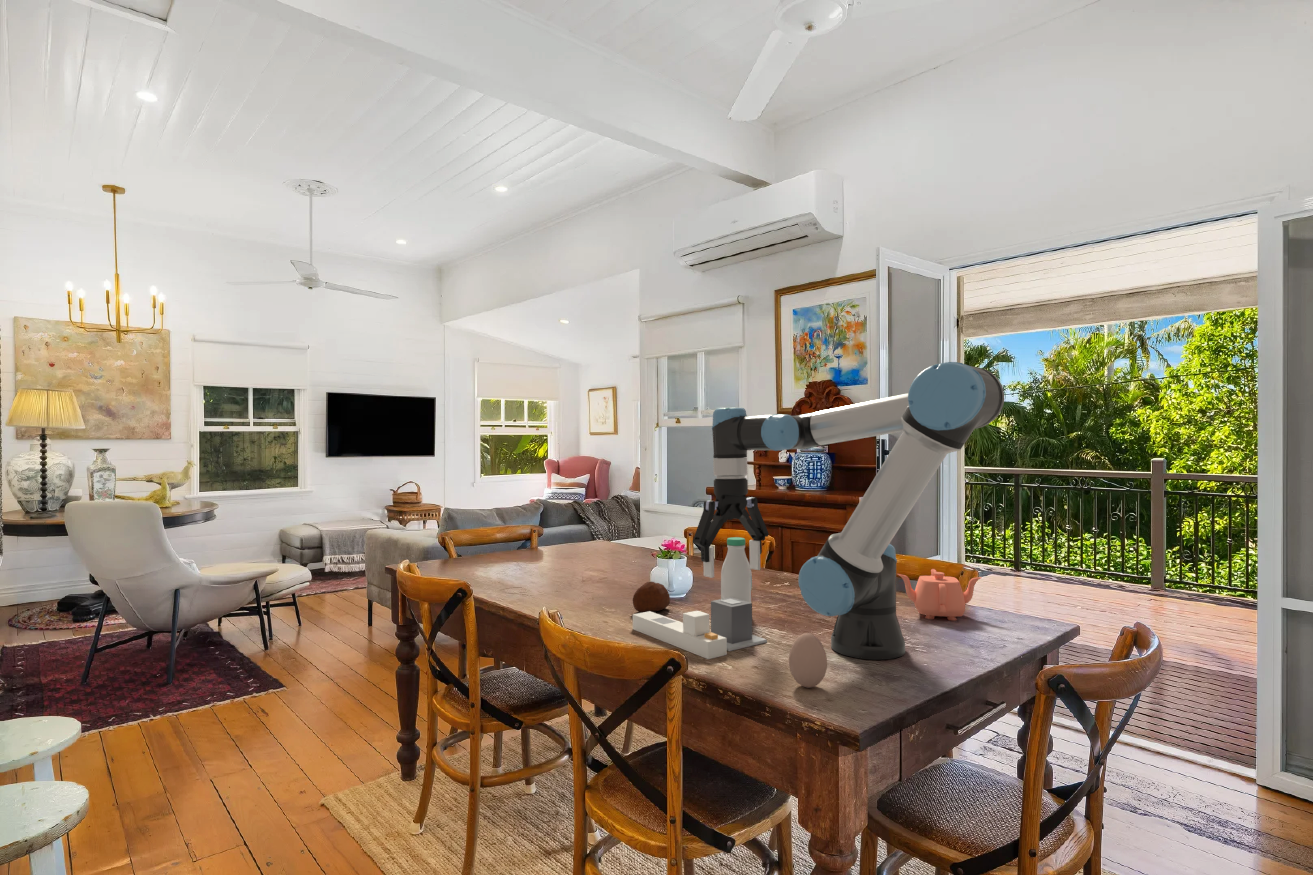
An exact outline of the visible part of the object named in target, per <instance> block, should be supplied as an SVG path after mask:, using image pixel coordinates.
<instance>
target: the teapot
mask: <svg viewBox="0 0 1313 875" xmlns="http://www.w3.org/2000/svg"><path fill="white" fill-rule="evenodd" d="M930 572H931V574H930V575H919V577H918V579H917V583H916V586H915V589H913V588H912V585H911V584H912V583H911V580H910V578H909V577H908V576H907V575H905V574H901V573H897V575H898V576H899V577H900V578H902V580H903V583H904V586H905V587H904V588H905V592H906V595H907V597H908V599H910V600H911V601H912V602H913V604H914V607H915V608H916V611H917V613H919V614H921V615H923V616H925V617H924V619H926V620H934V619H935V617H946V618H947V620H948V621H952V622H953V621H957V617H962V616H964V614H965V611H966V605H967V604H969V603H970V601H971V600H972V598H973V596H974V590H975V585H976V583H977V582H978V581H979V580H980V579H982V578H983V577H982V576H977V577H973V578H971V579H970V580H969V581H968V586H967V588H966V590H965V591H963V588H962V586H961V583H960V581H959V580H958V579H957V578H956V577H953V576H945V573H944V572H941V571H937V570H936V569H935V568H932V569H931V570H930Z"/></svg>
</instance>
